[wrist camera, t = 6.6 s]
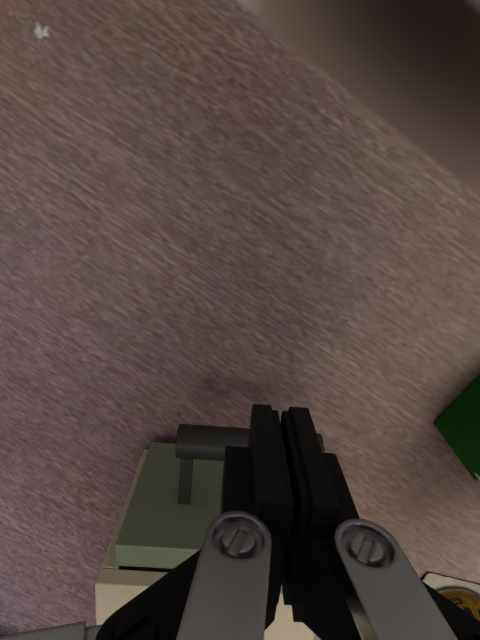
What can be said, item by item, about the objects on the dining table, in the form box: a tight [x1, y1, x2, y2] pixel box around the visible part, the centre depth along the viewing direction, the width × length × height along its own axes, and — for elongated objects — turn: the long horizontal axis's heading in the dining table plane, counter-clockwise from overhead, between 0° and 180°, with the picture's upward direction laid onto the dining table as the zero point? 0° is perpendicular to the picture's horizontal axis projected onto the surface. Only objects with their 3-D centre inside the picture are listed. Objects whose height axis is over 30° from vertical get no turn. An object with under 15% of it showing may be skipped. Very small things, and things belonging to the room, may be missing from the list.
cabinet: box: [95, 449, 314, 640], centre depth 24 cm, size 15×13×10 cm
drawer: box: [115, 424, 324, 572], centre depth 23 cm, size 18×11×8 cm, turn 175°
